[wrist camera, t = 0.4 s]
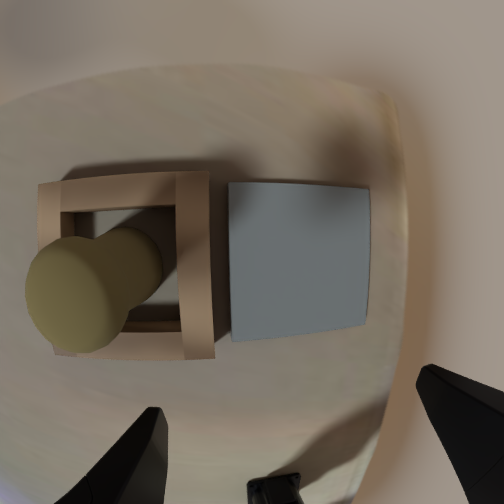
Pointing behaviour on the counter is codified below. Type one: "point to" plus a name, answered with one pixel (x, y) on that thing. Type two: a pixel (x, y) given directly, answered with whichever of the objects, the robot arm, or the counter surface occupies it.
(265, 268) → the blue gray mat
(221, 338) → the counter surface
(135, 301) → the cork
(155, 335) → the frame
